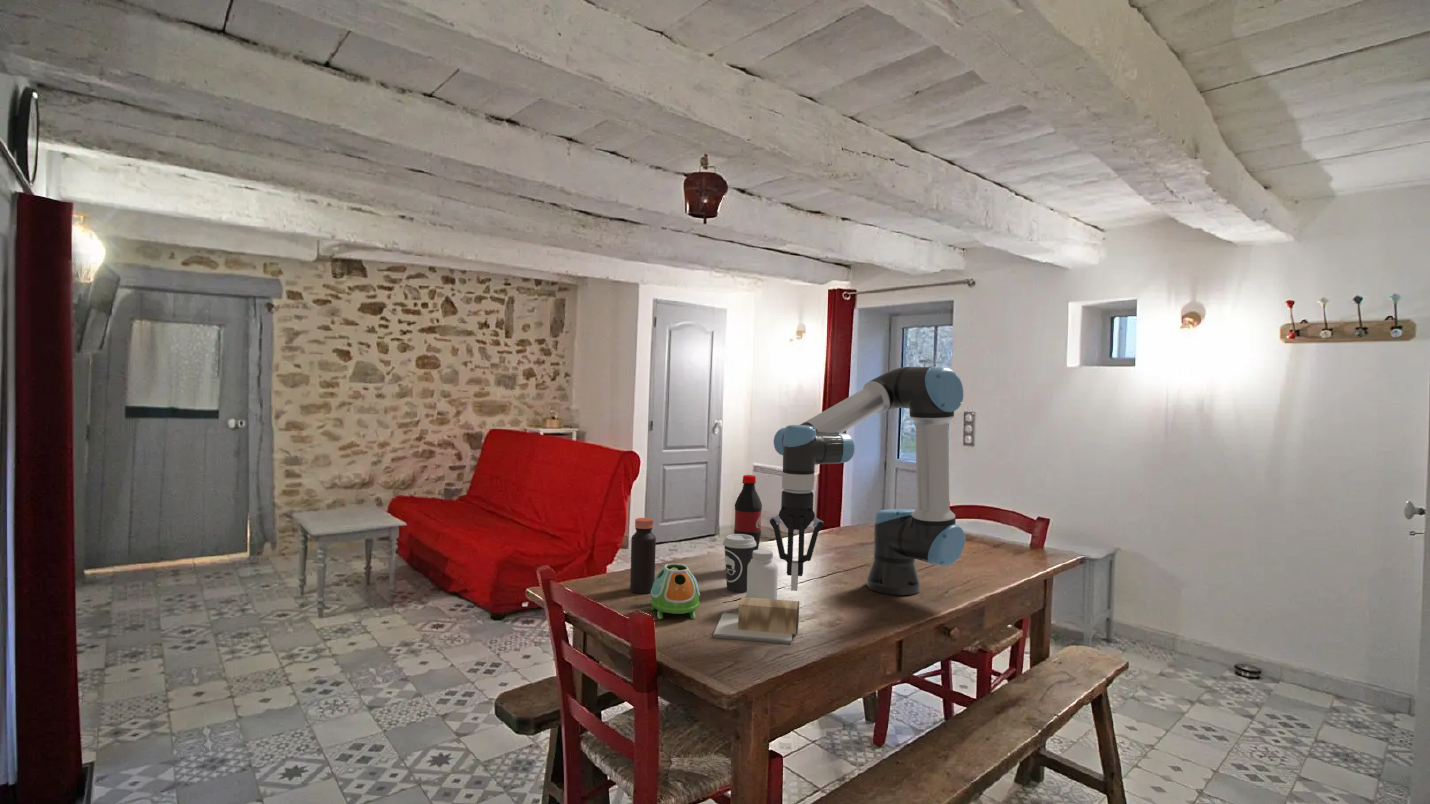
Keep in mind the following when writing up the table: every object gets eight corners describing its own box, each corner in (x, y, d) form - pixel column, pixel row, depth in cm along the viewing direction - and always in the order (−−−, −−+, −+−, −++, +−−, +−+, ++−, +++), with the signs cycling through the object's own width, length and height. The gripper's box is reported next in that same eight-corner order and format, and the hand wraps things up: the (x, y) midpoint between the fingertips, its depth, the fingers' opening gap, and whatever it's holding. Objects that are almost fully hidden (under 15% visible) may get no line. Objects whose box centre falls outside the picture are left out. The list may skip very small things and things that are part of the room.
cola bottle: (764, 570, 227) (767, 475, 226) (751, 576, 220) (754, 477, 219) (741, 565, 232) (744, 472, 231) (727, 571, 225) (730, 475, 224)
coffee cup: (752, 595, 201) (754, 541, 200) (718, 592, 202) (720, 539, 202) (757, 586, 210) (758, 534, 209) (724, 583, 212) (726, 532, 211)
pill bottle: (744, 603, 194) (746, 547, 193) (774, 603, 194) (775, 547, 194) (748, 613, 186) (750, 555, 185) (779, 613, 187) (781, 555, 186)
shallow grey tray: (794, 620, 181) (794, 618, 181) (791, 644, 165) (791, 641, 165) (723, 615, 184) (723, 612, 184) (712, 637, 168) (713, 634, 168)
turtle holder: (687, 598, 197) (689, 554, 196) (705, 620, 179) (706, 572, 179) (642, 600, 194) (643, 556, 193) (655, 623, 176) (657, 575, 176)
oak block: (799, 601, 176) (741, 596, 178) (798, 609, 170) (738, 604, 172) (798, 625, 176) (741, 620, 178) (797, 634, 170) (738, 629, 172)
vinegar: (659, 590, 203) (661, 519, 202) (641, 595, 198) (642, 522, 197) (643, 585, 207) (645, 515, 206) (625, 590, 202) (626, 518, 201)
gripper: (825, 489, 174) (822, 586, 175) (771, 486, 176) (768, 582, 177) (825, 494, 167) (821, 595, 168) (768, 491, 169) (765, 591, 170)
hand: (794, 588), depth 173 cm, fingers closed
